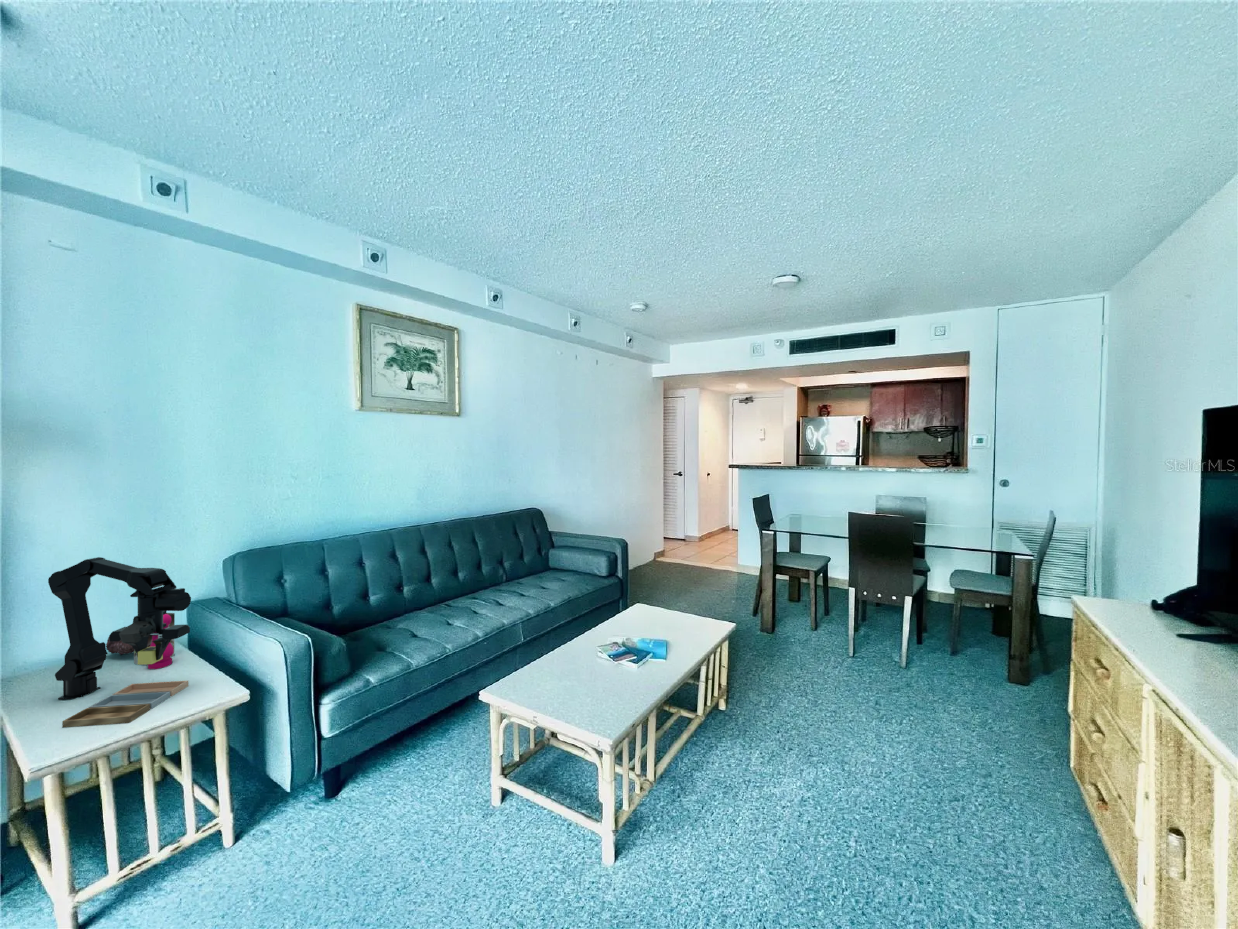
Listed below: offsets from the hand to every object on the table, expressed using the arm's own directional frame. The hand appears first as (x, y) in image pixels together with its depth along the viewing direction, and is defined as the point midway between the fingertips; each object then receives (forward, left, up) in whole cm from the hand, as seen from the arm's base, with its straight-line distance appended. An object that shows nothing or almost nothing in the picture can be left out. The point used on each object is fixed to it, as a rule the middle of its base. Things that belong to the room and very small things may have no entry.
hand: (150, 660), depth 149 cm
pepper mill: (-14, +23, -11) cm, 29 cm away
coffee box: (-20, +29, -11) cm, 37 cm away
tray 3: (0, 0, -11) cm, 11 cm away
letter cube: (0, 0, -1) cm, 0 cm away
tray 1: (0, -15, -11) cm, 18 cm away
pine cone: (-34, +35, -11) cm, 50 cm away
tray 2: (0, -7, -11) cm, 13 cm away
